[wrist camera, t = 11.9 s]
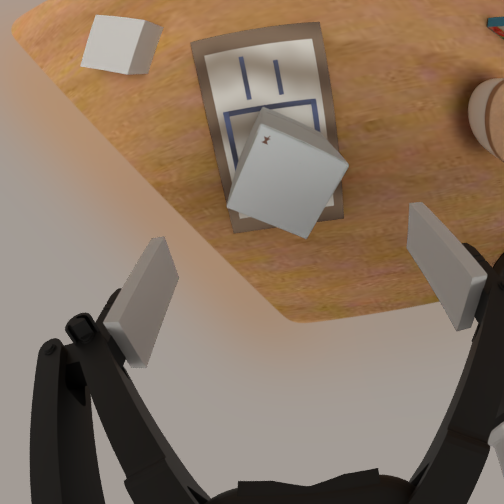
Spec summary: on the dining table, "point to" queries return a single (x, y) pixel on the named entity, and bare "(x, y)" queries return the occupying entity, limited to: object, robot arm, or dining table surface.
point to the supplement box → (285, 174)
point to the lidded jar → (488, 115)
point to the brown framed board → (264, 95)
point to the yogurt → (497, 25)
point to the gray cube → (121, 45)
